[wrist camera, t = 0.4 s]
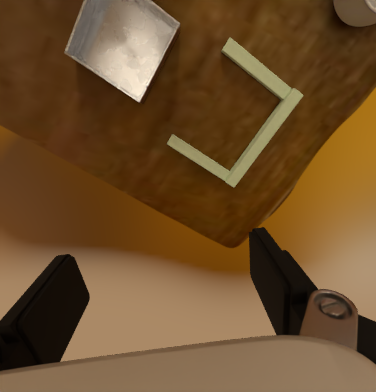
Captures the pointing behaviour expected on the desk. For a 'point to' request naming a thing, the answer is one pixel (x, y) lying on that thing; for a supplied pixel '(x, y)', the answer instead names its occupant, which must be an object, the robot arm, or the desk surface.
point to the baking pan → (123, 42)
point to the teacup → (356, 12)
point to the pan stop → (267, 130)
